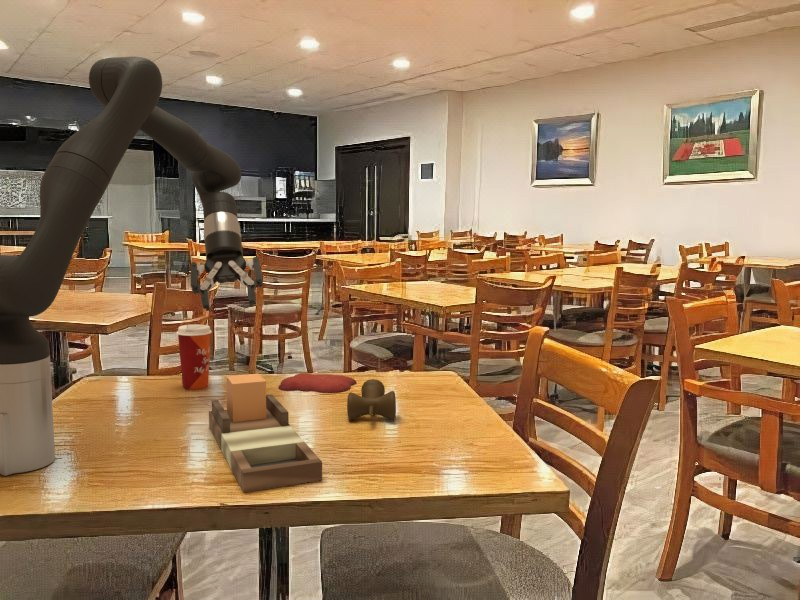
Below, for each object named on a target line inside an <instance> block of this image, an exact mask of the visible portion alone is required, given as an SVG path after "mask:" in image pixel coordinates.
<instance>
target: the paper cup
mask: <svg viewBox="0 0 800 600" xmlns="http://www.w3.org/2000/svg"><path fill="white" fill-rule="evenodd" d="M211 333H213V331H212V330H211V327H210V325H209V324H208V325H207V324H198V323H197V324H196V323H195V324H185V325H180V326H178V329H177V331H176V334H177V336H178V337H177V338H178V347H179V349H178V351H179V360H180V361H179V362H180V372H181V384H182V389H184V390H188V391H197V390H198V391H200V390H204V389H207V388H208V387H209V378H210V355H211V353H210V352H211Z"/></svg>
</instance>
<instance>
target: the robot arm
mask: <svg viewBox="0 0 800 600" xmlns="http://www.w3.org/2000/svg"><path fill="white" fill-rule="evenodd" d="M88 83H89V84H88V85H89V88H90V90H91V93H92V95H93V96H94V98H95V100H97V101H98V103H99V104H100V105H102V106H103V107H104V109H103V110H102V111H101V112H100V113H99V114H98V115H97V116H95V118H93V119H92V120H91V121H89V122H88V123H87V124H85V125H84V126H82V128H80V129H78V131H76V132H75V133H73V134H72V135H71V136H70V137H69V138H67V139H66V140H65V141H64V142H62V144H61V146H59V147H58V149H57V151H55V153H54V156H53V158H52V159H51V161H50V163H48V165H47V168H46V169H45V171H44V173H43V175H42V178H41V179H40V186H39V209H40V211H39V213H40V215H39V221H38V224H37V227H36V228H35V231H34V233H33V235H32V236H31V238H30V239H29V241H28V243H27V244H26V247H25V248H24V249H23V251H22V252H21V253H20V254H19V255H9V254H8V255H7V254H0V475H2V476H10V475H12V474H13V475H14V474H19V473H26V472H32V471H36V470H38V469H42V468H44V467H47V466H49V465H50V464H53V462H54V461H55V459H56V451H55V450H56V449H55V448H56V445H55V431H54V430H55V428H54V410H53V409H54V407H53V393H52V392H53V391H52V373H51V372H52V371H51V370H52V369H51V351H50V341H49V340H48V338H47V337H46V336H45V335H44V334H42V333H41V332H40V331H38V330H37V329H36V328H35V326H34V325H33V324H32V322H31V319H30V317H31V318H32V317H36V316H39V315H41V314H42V313H44V312H45V311H46V310H47V309H49V308H50V306H51V305H52V304H53V302H54V301H55V299H56V298H57V295H58V294H59V292H60V289H61V286H62V284H63V281H64V279H65V276H66V274H67V272H68V269H69V266H70V263H71V260H72V258H73V256H74V253H75V250H76V249H77V246H78V244H79V242H80V240H81V237H82V236H83V234H84V231H85V229H86V228H87V226H88V223H89V221H90V219H91V217H92V215H93V214H94V211H95V210H96V208H97V206H98V205H99V204H100V201H101V200H102V198H103V195H104V194H105V193H106V190H107V188H108V186H109V185H110V183H111V181H112V178H113V176H114V173H115V172H116V170H117V168H118V166H119V165H120V163H121V161H122V159H123V157H124V156H125V154H126V152H127V150H128V148H129V146H130V145H131V143H132V141H133V140H134V138H135V136H136V135H137V134H138V132H139V131H141V132H142V133H144V135H147V136H148V137H149V138H150V139H152V140H153V141H155V142H156V143H157V144H159V145H160V146H161V147H163V149H164V150H166V152H168V153H169V154H170V155H171V156H172V157H173V158H174V159H175V160H177V162H179V163H180V164H181V165H182V166H183V168H185V169H187V170H189V171H190V172H191V173H192V174H191V180H192V184H193V185H194V188H195V190H196V192H197V194H198V197H199V200H200V202H201V205H202V211H203V236H204V238H203V240H204V248H205V259H206V260H205V262H204V264H201V263H200V264H197V262H195V261H193V262H191V264H190V288H191V292H192V294H200V295H201V296H200V298H201V300H200V301H201V306H202V308H203V309H205V310H206V312H209V311H211V307H210V295H209V292H210V291H211V290H212V289H213V288H214V287H215V285H216V284H217V283H219V284H225V283H236V281H238V282H239V283H240V284H241V285H243V286H244V287H246V288H247V297H248V306H249V307H254V304H256V302H257V300H256V298H257V297H256V291H255V290H256V289H257V288H262V287H263V285H264V282H263V279H264V278H263V273H262V269H261V264H260V260H259V257H258V256H253V258H252V259H247V260H246V259H245V258H244V253H243V252H244V251H243V242H242V233H241V227H240V224H239V223H240V222H239V220H238V218H239V217H238V209H237V204H236V203H237V202H236V199H235V198H234V196H233V195H232V194H231V193H229V192H227V191H226V192H225V190H228V189H231V188H233V187H235V186H237V185H239V183H240V181H242V170H241V167H240V165H239V163H238V162H237V161H236V159H235V158H233V157H232V156H231V155H230V154H229V153H226V152H225V151H223V150H221V149H219V148H217V147H216V146H214V145H212V144H210V143H208V142H207V141H206V140H205V139H204V138H203V137H202V135H200V133H199V132H197V130H195V128H193V127H192V126H191V125H190V124H188V123H187V122H185V121H183V120H182V119H180V118H179V117H176V116H175V115H173V114H171V113H169V112H167V111H165V110H164V109H162V108H160V107H159V106H157V104H158V103H159V100H160V97H161V94H162V91H163V77H162V74H161V70H160V68H159V67H158V65H157V64H156V63H155V62H154V61H152V60H151V59H149V58H146V57H140V56H121V57H120V56H113V57H105V58H102V59H98V60H97V61H95V62H94V63H93V64H92V65H91V67H90V70H89V73H88ZM247 267H248V268H249V269H250V270H251V271H254V275H255V279H252V278H251V277H250V276H249V275H248V273H247V272H246V271H245V270H246V269H247ZM204 271H205V272H206V273H207V276H206V277H205V279H204V281H203V282H202V284H199V276H201V275H202V274H203V272H204Z"/></svg>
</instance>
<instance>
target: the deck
mask: <svg viewBox="0 0 800 600" xmlns="http://www.w3.org/2000/svg"><path fill="white" fill-rule="evenodd" d="M289 414H290V413H289V411H288V410H287V409H286V407H284V405H283V404H282V403H281V402H279V400H278V399H277V398H276V397H275V396H274V395H273V394H266V419H257V420H248V421H239V422H233V421H232V420H231V418H230V417H229V415H228V413H227V409H224V406H223V405H222V404H221V402H220V400H219V399H213V400H212V399H211V411H208V427H209V430H210V431H211V433H212V435H213V438H214V439H215V440H216V443H217V444H218V446H219V448H220V450H221V453H222V455H223V456H224V458H225V460H226V461H227V463H228V466H229V468H230V470H231V471H232V473H233V475H234V477H235V479H236V481H237V483H238V485H239V487H240V489H241V491H242V492H243V493H250V492H251V493H252V492H256V491H262V490H263V491H264V490H269V489H276V488H281V486H283V487H288V486H287V485H290V486H294V484H296V485H301V484H300V483H303V484H308V483H307V482H309V483H314V482H315V481H316V482H320V481H319V480H322V481H323V461H322V460H321V459H320V457H319V456H318V454H316V453H315V452H314V450H313V449H312V448H311V447H310V446H309V445H308V444H307V443H306V442H305V440H304V439H303V438H302V437H301V436H300V435H299V434H298V432H297V431H296V430H295V429H294V427H292V426H291V425H290V422H289V419H290V418H289V416H290V415H289Z"/></svg>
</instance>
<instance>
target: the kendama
mask: <svg viewBox="0 0 800 600" xmlns="http://www.w3.org/2000/svg"><path fill="white" fill-rule="evenodd" d="M385 389H386V387H385V385H384V383H383V382H382V381H380V380H379V379H375V378H371V379H367V380H366V381H364V382H363V384H362V385H361V389H360V392H361V395H359V394H356V393H354V392H349V393H348V395H347V401H346V404H347V405H346V413H347V419H348V421H350V422H351V421H354V420H356V419H359V418H361V417H363V416H370V417H372V416H373V415H374V416H375V415H376V416H380V417H382V418H384V419H386V420H389V421H391V422H395V420H396V415H397V412H396V411H397V398H396V393H395V391H394V390H390V391H389V392H387V393H385V392H386V390H385Z"/></svg>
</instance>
